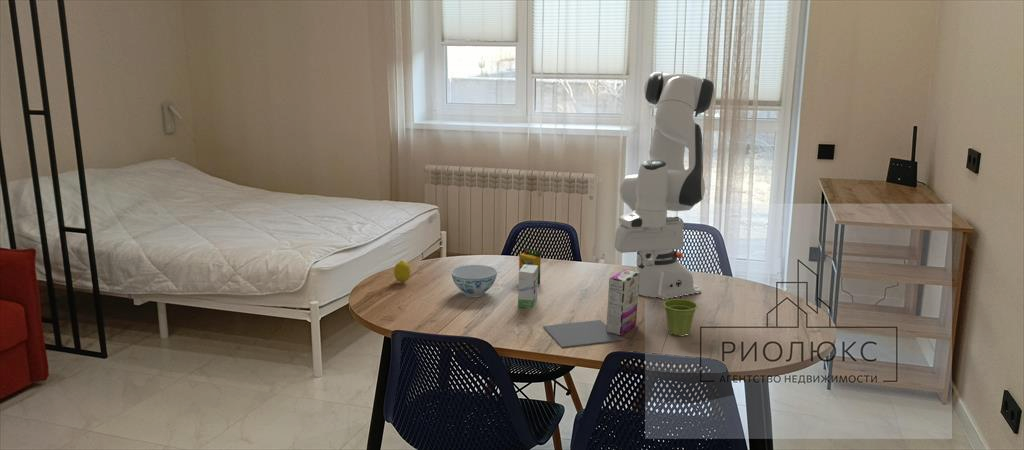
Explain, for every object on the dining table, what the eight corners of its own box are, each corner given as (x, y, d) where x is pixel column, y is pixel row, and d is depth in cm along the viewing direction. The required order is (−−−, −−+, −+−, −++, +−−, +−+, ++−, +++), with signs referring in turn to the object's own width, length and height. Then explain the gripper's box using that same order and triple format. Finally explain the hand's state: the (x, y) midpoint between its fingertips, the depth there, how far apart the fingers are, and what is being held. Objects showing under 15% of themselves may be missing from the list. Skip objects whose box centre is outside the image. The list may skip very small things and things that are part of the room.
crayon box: (518, 281, 268) (518, 249, 266) (524, 279, 271) (524, 247, 268) (535, 286, 264) (535, 253, 261) (540, 283, 266) (541, 251, 263)
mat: (600, 321, 232) (600, 319, 231) (622, 340, 217) (622, 339, 217) (543, 327, 227) (543, 326, 226) (562, 347, 212) (562, 346, 212)
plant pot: (674, 341, 217) (676, 311, 214) (655, 329, 225) (657, 301, 223) (702, 336, 220) (704, 307, 218) (682, 325, 229) (684, 297, 226)
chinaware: (470, 304, 246) (470, 281, 244) (442, 293, 256) (442, 270, 255) (506, 294, 255) (506, 272, 253) (477, 283, 266) (477, 262, 264)
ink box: (522, 298, 251) (522, 263, 248) (538, 299, 250) (538, 264, 247) (517, 307, 243) (517, 271, 240) (533, 308, 242) (533, 272, 239)
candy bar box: (620, 321, 231) (625, 268, 227) (636, 325, 228) (640, 271, 225) (604, 332, 221) (608, 277, 218) (620, 336, 219) (625, 280, 215)
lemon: (414, 282, 268) (413, 259, 266) (403, 286, 263) (402, 263, 261) (401, 279, 270) (400, 257, 269) (391, 283, 266) (390, 261, 264)
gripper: (678, 214, 225) (675, 260, 228) (613, 217, 219) (611, 264, 222) (689, 218, 219) (686, 265, 222) (622, 222, 213) (620, 270, 217)
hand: (648, 265), depth 222 cm, fingers closed
